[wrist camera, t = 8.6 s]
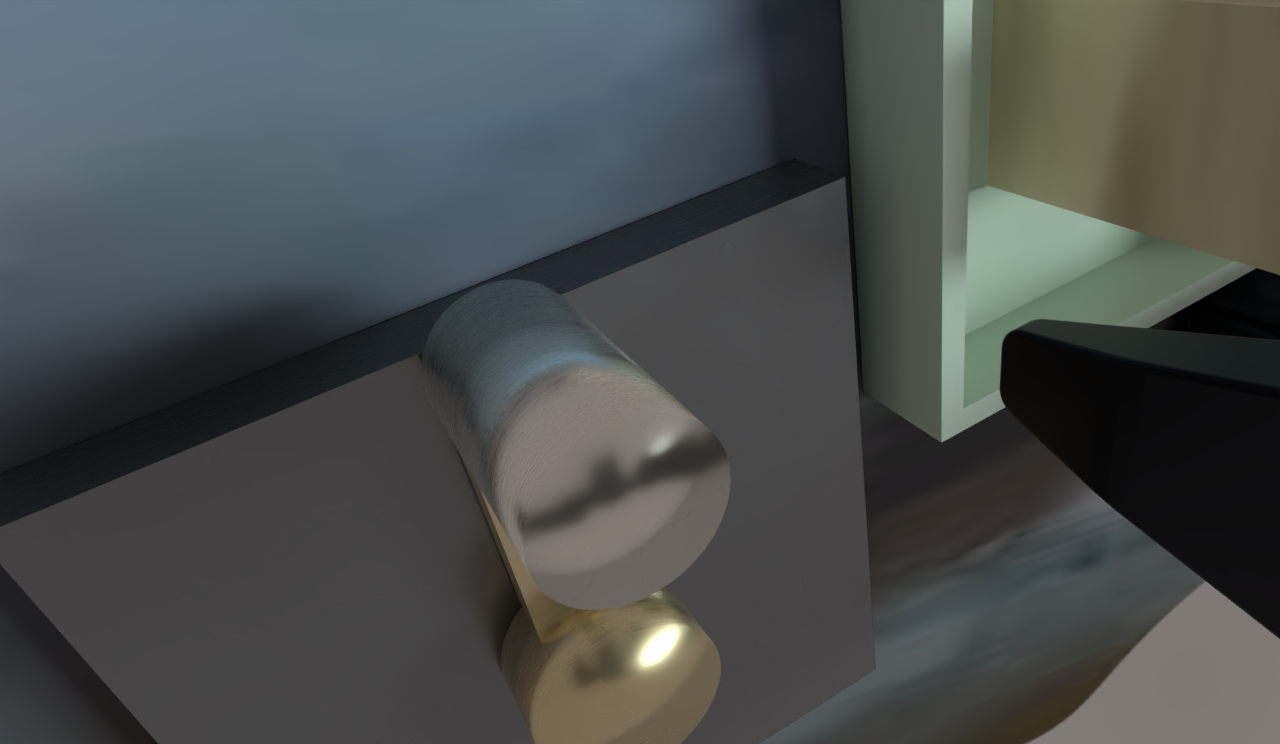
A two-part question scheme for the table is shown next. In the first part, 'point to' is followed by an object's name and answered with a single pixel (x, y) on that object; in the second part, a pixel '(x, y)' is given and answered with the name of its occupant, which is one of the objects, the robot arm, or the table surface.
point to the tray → (970, 224)
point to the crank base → (468, 505)
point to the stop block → (1144, 117)
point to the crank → (583, 513)
